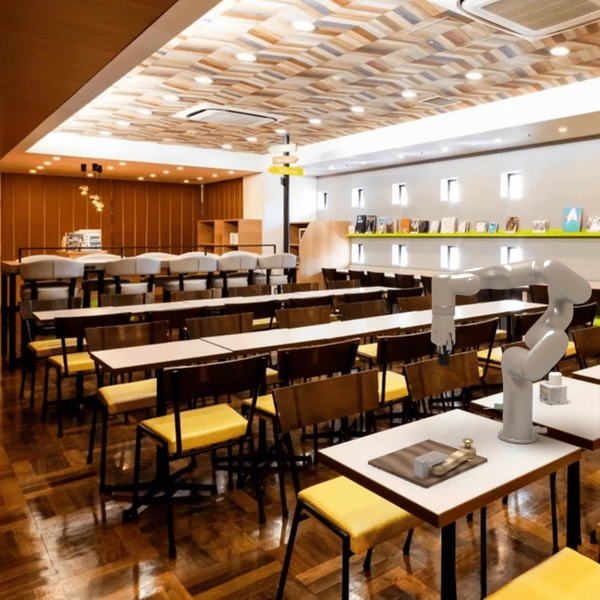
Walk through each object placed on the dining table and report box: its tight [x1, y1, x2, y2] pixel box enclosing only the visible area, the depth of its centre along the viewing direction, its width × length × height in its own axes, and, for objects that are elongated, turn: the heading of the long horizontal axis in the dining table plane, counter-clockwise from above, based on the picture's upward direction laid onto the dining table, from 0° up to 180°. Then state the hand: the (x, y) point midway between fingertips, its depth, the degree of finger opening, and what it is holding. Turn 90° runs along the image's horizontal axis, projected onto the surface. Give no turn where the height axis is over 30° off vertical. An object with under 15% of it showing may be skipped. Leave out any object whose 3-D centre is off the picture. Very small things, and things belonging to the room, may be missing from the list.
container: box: [539, 370, 568, 405], centre depth 232 cm, size 8×8×13 cm
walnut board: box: [367, 438, 488, 489], centre depth 172 cm, size 29×23×1 cm
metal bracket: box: [483, 403, 503, 410], centre depth 220 cm, size 14×6×15 cm
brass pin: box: [462, 437, 479, 462], centre depth 173 cm, size 6×6×6 cm
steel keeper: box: [414, 450, 448, 480], centre depth 162 cm, size 10×5×5 cm, turn 128°
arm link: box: [433, 444, 477, 475], centre depth 167 cm, size 22×5×2 cm, turn 136°
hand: (443, 365), depth 186 cm, fingers closed
